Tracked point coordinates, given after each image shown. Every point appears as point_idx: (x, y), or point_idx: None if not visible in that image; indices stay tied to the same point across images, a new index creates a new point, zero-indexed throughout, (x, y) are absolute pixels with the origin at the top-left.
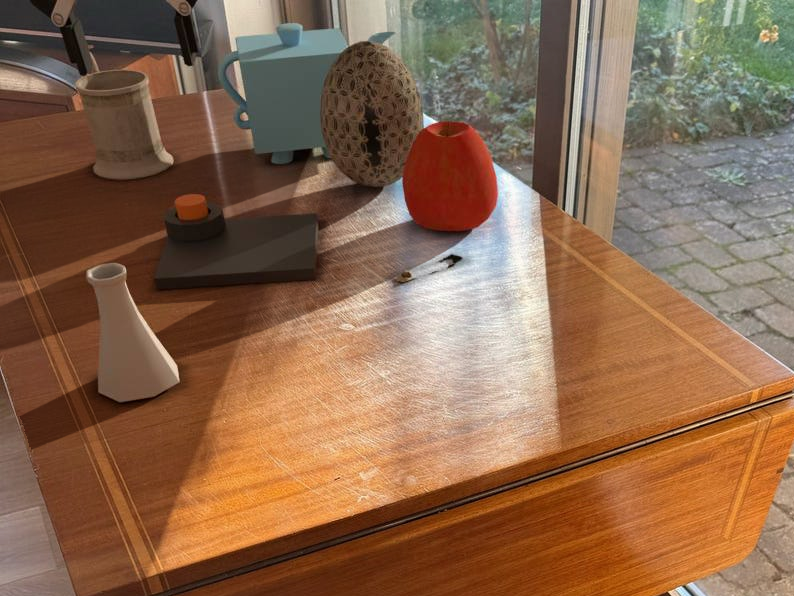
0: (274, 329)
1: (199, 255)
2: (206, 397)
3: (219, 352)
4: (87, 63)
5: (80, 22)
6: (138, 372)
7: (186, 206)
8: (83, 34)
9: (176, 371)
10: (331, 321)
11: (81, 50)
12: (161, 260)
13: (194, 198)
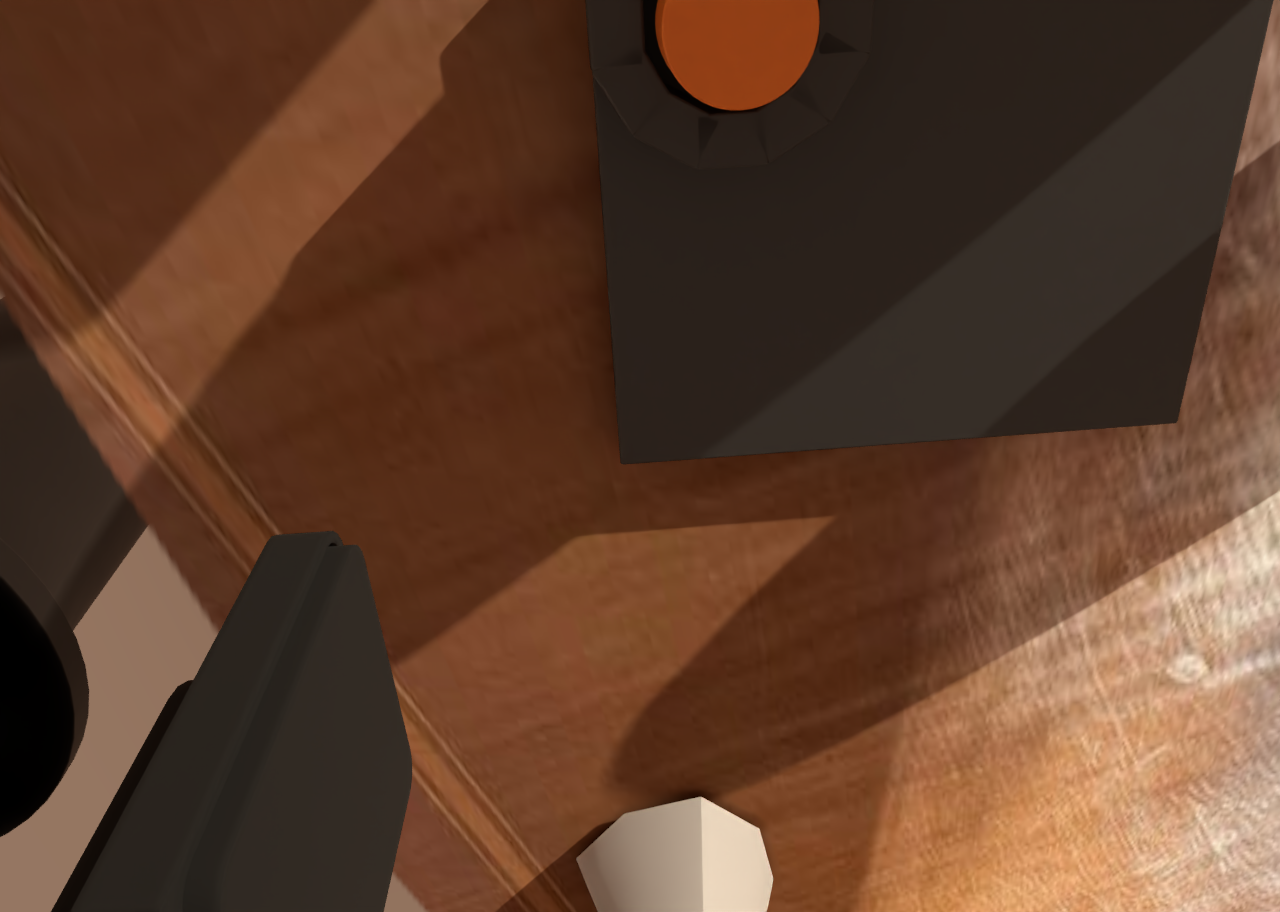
0: (995, 673)
1: (763, 292)
2: (833, 906)
3: (852, 763)
4: (387, 748)
5: (229, 868)
6: None
7: (731, 107)
8: (283, 776)
9: (765, 862)
10: (1153, 641)
11: (370, 906)
12: (618, 325)
13: (763, 13)
